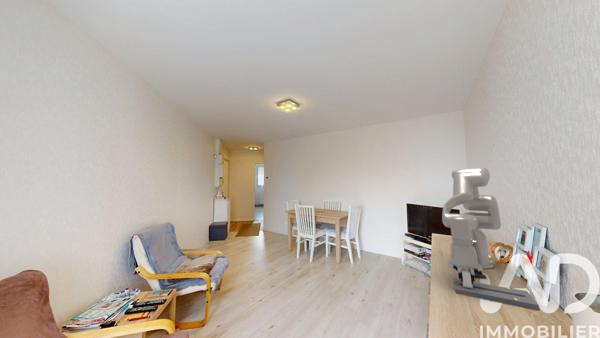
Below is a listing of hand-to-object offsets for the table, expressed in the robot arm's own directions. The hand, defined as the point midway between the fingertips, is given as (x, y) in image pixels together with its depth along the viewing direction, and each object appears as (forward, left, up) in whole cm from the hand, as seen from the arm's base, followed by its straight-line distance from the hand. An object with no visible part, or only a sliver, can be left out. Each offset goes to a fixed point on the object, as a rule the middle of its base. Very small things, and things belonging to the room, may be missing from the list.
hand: (466, 281), depth 94 cm
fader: (0, 0, -2) cm, 2 cm away
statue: (-18, -10, -4) cm, 21 cm away
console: (-6, +6, -4) cm, 9 cm away
